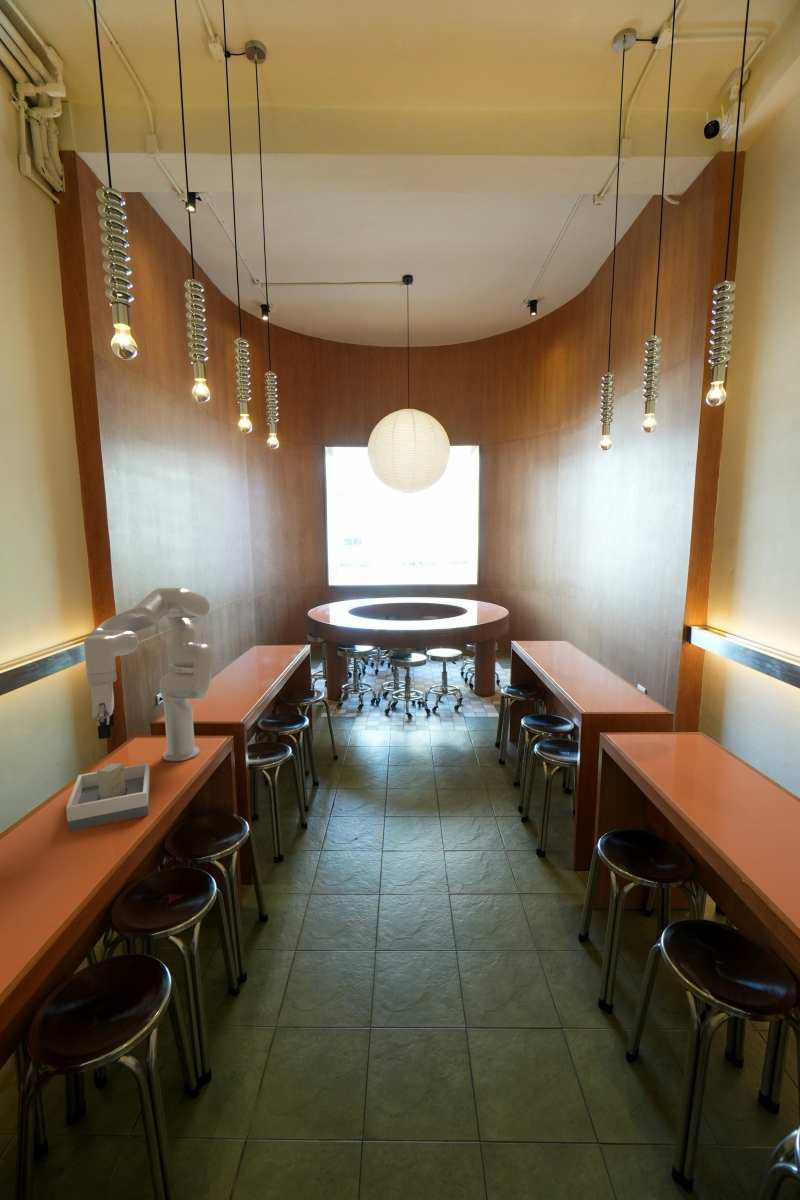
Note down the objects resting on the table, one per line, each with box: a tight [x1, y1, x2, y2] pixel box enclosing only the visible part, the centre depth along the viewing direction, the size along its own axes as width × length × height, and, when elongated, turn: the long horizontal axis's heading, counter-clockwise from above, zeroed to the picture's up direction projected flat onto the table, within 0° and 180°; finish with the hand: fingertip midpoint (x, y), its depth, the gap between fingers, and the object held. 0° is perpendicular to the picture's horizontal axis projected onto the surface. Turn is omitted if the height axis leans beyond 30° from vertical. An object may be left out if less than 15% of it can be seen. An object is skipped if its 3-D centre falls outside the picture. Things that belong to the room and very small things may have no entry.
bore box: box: [65, 762, 151, 833], centre depth 157 cm, size 22×20×7 cm
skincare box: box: [96, 762, 126, 800], centre depth 157 cm, size 6×4×12 cm
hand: (106, 732), depth 155 cm, fingers open, 9 cm apart
